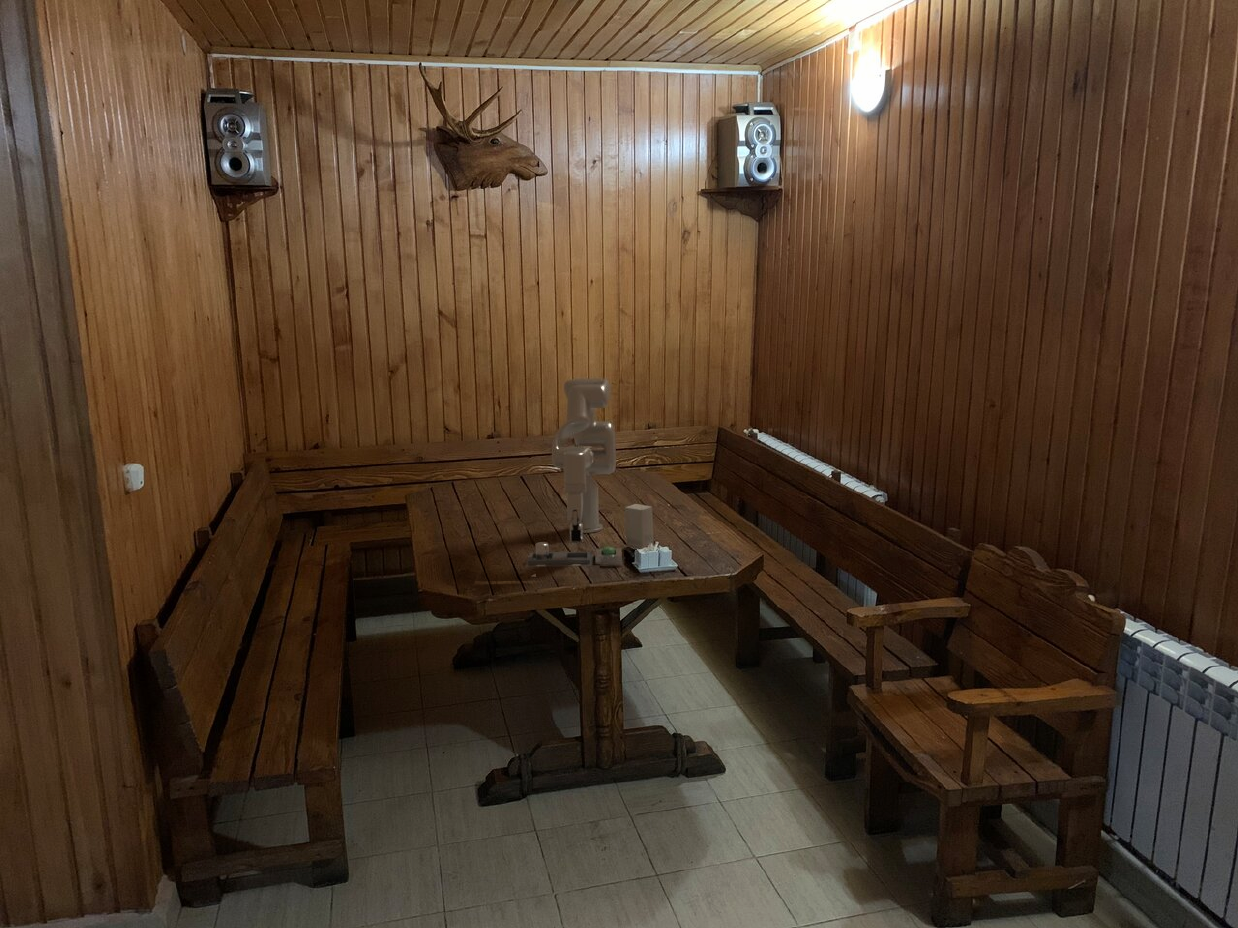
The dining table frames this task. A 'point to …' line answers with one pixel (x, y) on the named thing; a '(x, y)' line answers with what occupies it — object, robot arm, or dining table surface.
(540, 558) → the billet
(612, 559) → the button housing
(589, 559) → the pallet
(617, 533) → the dining table surface
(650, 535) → the skincare box
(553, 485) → the dining table surface
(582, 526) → the billet
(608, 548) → the button
